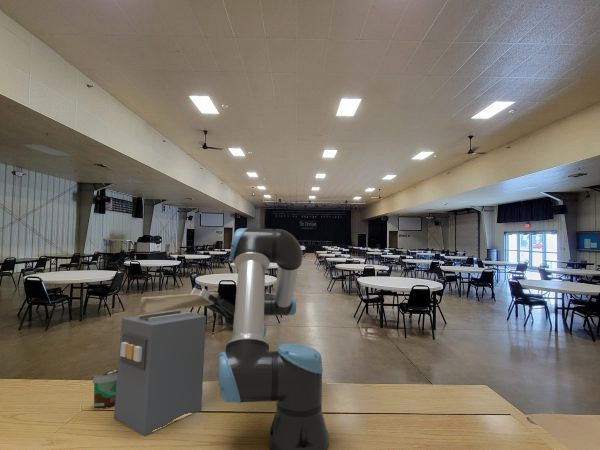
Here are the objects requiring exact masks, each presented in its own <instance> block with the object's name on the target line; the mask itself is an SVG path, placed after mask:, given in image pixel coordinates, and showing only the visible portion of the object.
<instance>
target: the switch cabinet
mask: <svg viewBox="0 0 600 450" xmlns="http://www.w3.org/2000/svg"><path fill="white" fill-rule="evenodd" d="M206 323H207V316H206V315H200V314H194V313H192V312H191V311H187V312H184V311H181V309H176V310H168V311H161V312H153V313H146V314H141V315H137V316H130V317H123V318H121V327H120V340H119V341H120V342H119V350H118V351H119V354H118V364H117V369H118V374H117V386H116V398H115V406H114V410H113V413H114V414H113V419H114V418H115V420H116V419H117V420H116V421H118V422H119V423H121V424H123V425H125V426H127V427H128V428H130V429H131V430H133V431H135V432H137V433H138V434H140V435H142V436H143V437H146V436H149V435H151V434H152V433H151V432H152V431H153V430H155V429H158V428H160V427H163V426H165V425H167V424H168V423H170V422H172V421H173V420H174V419H176V418H178V417H180V416H182V415H184V414H188V413H194V414H196V413H198V412H200V411H202V405H203V403H202V402H203V385H204V384H203V383H204V367H205V366H204V365H205V364H204V363H205V345H206V343H205V342H206V329H207V328H206V326H207V324H206ZM150 433H151V434H150Z"/></svg>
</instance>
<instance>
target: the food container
mask: <svg viewBox="0 0 600 450" xmlns="http://www.w3.org/2000/svg"><path fill="white" fill-rule="evenodd" d="M117 374H118V368H115V369H111V370H109V371H107V372H105V373H104V374H102V375H94V376H93V379H92V384H94V385H93V390H94V391H93V409H94V408H103V409H107V408H106V407H109V408H112V407H115V398H116V386H117Z"/></svg>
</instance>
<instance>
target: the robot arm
mask: <svg viewBox="0 0 600 450" xmlns="http://www.w3.org/2000/svg"><path fill="white" fill-rule="evenodd" d="M230 261H231V262H233V263H234V267H235V268H236V269H237V279H236V280H237V281H236V282H237V283H236V290H235V291H236V292H235V293H236V294H235V305H233V304H232V303H230V302H229V301H227V300H226V299H224V298H222V296H221V295H218V297H217V298H216V296H214V295H213V294H211V293H210V292H211V291H209V290H207V289H206V288H202V289H201V290H200V289H198V288H196V287H193V289H192V290H191V292H190V294H192V293H200V295H199V296H200V297H202V298H203V299H205V300H206V301H208V302H210V303H211V304H214V305H207V306H204V307H205V308H206V309H208V310H210V311H211V312H213V314H219V315H220V316H221V317H223V318H224V322H225V324H227V326H229V327H231V328H233V329H232V337H231V339H230V340H229V341H228V342H227V343H226V345H225V351H222V352H219V353H218V381H219V382H218V383H219V394H220V397H221V400H222V401H223V402H224V403H233V404H234V403H236V404H237V403H238V404H242V403H256V402H257V403H258V402H259V403H261V402H276V411H275V413H274V416H273V420H272V422H271V426H270V428H269V432H268V445H269V449H270V450H327V449H328V447H329V432H328V429H327V425H326V421H325V418H324V414H323V411H322V405H323V404H322V402H323V400H322V399H323V392H322V390H323V372H324V369H323V361H322V360H323V359H322V355H321V353H320V352H319V350H316V349H315V348H314V347H310V346H307V345H304V344H300V343H299V344H298V343H283V344H279V346H278V347H277V348H276V349H277V351H275V350H274V351H270V344H269V343H268V341H266V340H265V339H264V338H265V336H266V335H267V327H266V325H265V316H294V315H295V314H296V313H297V300H296V298H295V297H294V293H295V289H296V288H295V286H296V282H297V281H296V280H297V276H298V270H299V268H300V267H301V265H302V263H303V251H302V247H301V245H300V243H299V240H297V238H296V237H295V236H294V235H293V234H291V233H290V232H289V231H287V230H284V229H282V228H280V229H279V228H250V227H245V228H243V227H241V228H238V229H236V230H235V232H234V233H233V236H232V240H231V247H230ZM270 263H276V266H277V272H276V273H277V274H276V283H275V295H274V297H265V287H266V286H265V285H266V284H265V283H266V270H267V269H268V268H269V267H270Z"/></svg>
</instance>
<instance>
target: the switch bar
mask: <svg viewBox="0 0 600 450" xmlns="http://www.w3.org/2000/svg"><path fill="white" fill-rule="evenodd" d="M209 292H210V293H211V294H213V295H214V296H216V298H217V297H218V296H219V292H215V291H214V292H213V291H209ZM199 295H200V293H192V294H191V293H183V294H182V293H181V294H168V295H167V294H166V295H157V296H148V297H147V296H144V297H141V300H140V312H142V313H146V314H152V313H160V312H168V311H176V310H182V309H191V308H196V307H205V306H207V305H214V304H211V303H210V302H208V301H206V300H205V299H203V298H202V297H200V296H199Z"/></svg>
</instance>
